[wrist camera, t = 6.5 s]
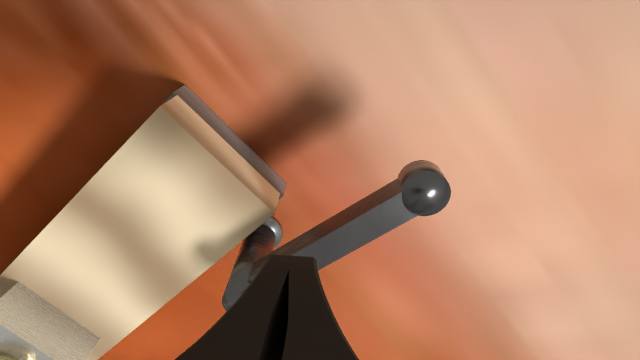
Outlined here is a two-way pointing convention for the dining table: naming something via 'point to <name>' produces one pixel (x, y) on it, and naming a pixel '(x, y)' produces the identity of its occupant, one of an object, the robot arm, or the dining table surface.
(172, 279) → the plane body
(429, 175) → the lever
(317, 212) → the dining table surface
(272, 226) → the pivot base
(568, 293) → the dining table surface
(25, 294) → the lever cap
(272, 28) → the dining table surface
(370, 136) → the dining table surface
